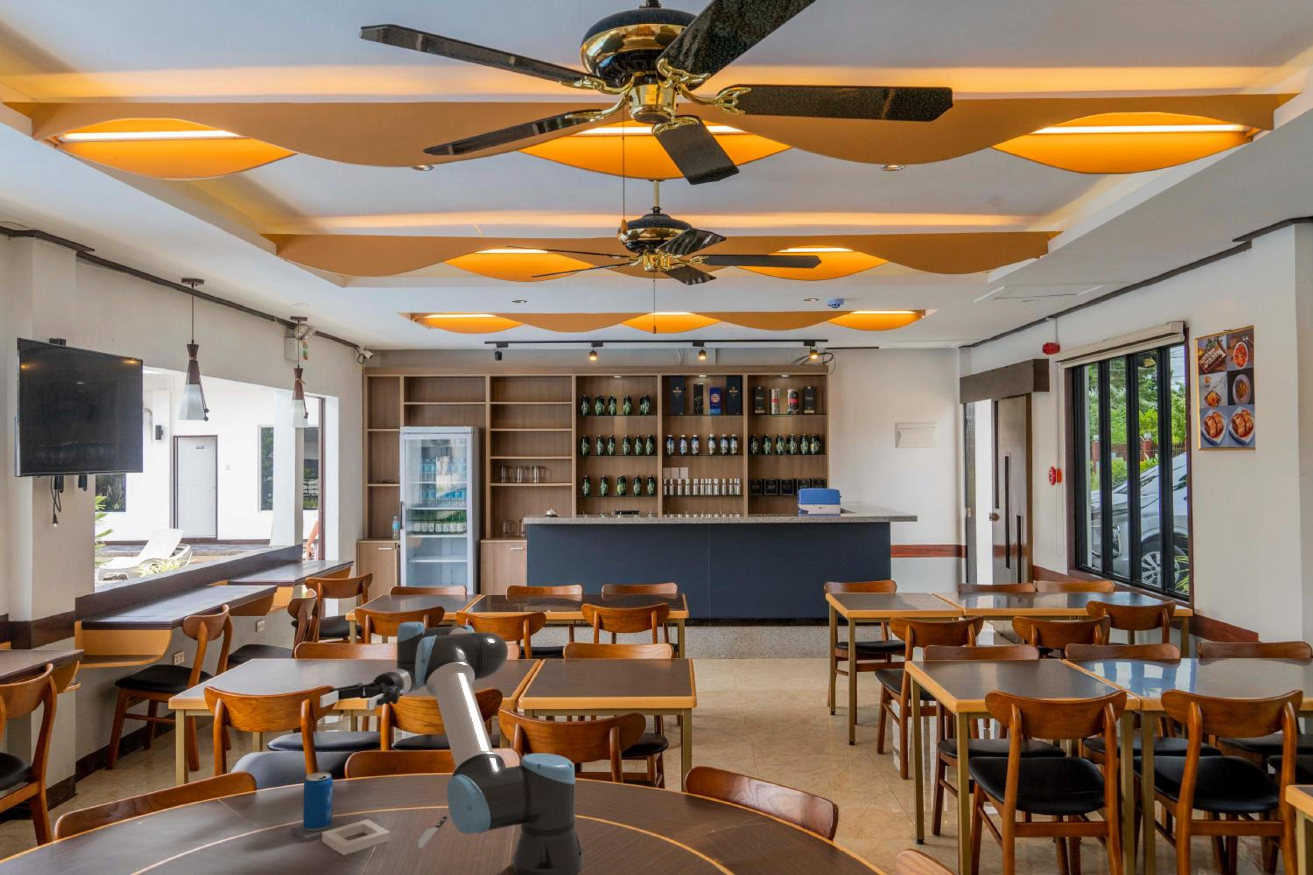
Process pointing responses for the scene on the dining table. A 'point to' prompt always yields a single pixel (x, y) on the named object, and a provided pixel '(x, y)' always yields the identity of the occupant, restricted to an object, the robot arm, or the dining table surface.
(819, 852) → the dining table surface
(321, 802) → the beverage can
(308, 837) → the coaster
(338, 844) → the can holder
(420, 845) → the chef's knife
